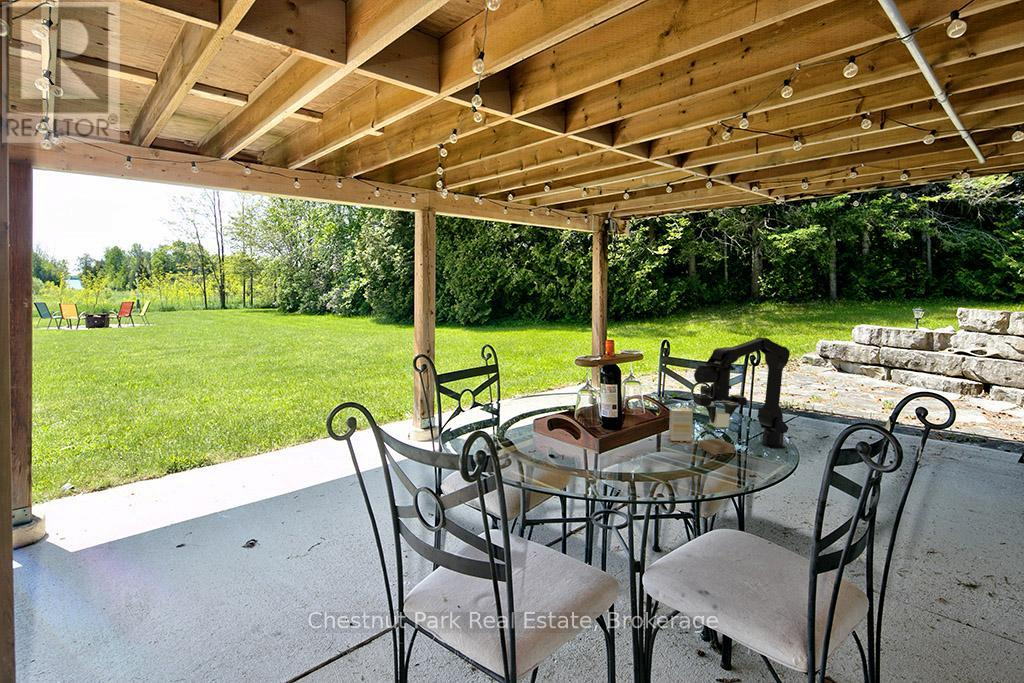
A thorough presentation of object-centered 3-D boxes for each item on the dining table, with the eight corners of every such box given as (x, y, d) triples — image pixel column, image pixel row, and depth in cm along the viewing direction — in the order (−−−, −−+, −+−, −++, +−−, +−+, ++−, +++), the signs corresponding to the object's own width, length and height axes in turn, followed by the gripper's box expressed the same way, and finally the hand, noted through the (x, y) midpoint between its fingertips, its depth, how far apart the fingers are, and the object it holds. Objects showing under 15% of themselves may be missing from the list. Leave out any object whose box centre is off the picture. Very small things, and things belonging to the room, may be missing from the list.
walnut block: (718, 447, 200) (718, 438, 200) (734, 454, 192) (734, 445, 191) (698, 449, 198) (699, 440, 198) (713, 456, 189) (714, 447, 189)
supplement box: (688, 439, 210) (690, 407, 208) (691, 442, 205) (693, 410, 203) (668, 438, 210) (669, 407, 209) (670, 441, 206) (672, 410, 204)
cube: (721, 423, 196) (722, 410, 195) (728, 427, 191) (729, 414, 191) (709, 423, 195) (710, 411, 195) (716, 427, 190) (717, 414, 190)
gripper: (732, 378, 201) (730, 416, 202) (687, 378, 198) (685, 417, 200) (749, 383, 190) (746, 424, 191) (702, 384, 187) (700, 425, 189)
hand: (719, 422), depth 193 cm, fingers closed on cube, 5 cm apart
